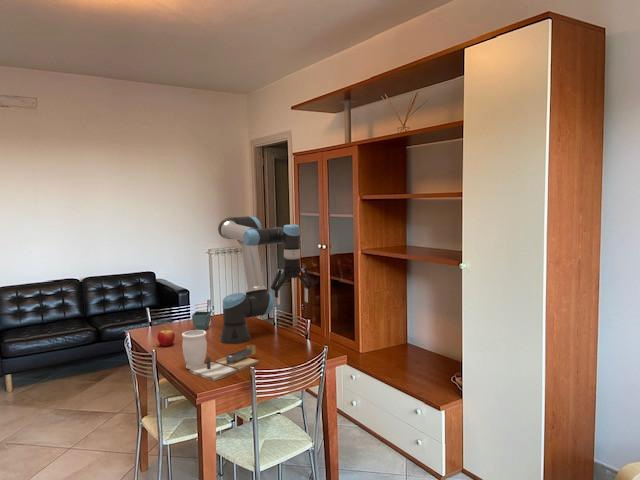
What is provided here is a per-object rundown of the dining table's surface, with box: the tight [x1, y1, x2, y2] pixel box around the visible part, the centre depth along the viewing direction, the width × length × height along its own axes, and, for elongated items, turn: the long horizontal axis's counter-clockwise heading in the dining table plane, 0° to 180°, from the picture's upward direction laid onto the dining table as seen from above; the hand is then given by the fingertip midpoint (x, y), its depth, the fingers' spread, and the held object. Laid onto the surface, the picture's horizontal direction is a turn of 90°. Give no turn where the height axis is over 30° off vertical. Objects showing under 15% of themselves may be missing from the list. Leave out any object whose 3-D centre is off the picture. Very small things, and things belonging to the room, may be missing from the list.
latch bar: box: [225, 343, 256, 362], centre depth 214 cm, size 16×4×4 cm, turn 142°
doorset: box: [189, 356, 260, 382], centre depth 207 cm, size 16×25×6 cm, turn 142°
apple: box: [156, 326, 176, 347], centre depth 240 cm, size 8×8×10 cm
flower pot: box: [191, 311, 212, 331], centre depth 270 cm, size 9×9×9 cm
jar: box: [181, 329, 208, 370], centre depth 210 cm, size 11×10×15 cm
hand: (292, 303), depth 225 cm, fingers open, 13 cm apart
